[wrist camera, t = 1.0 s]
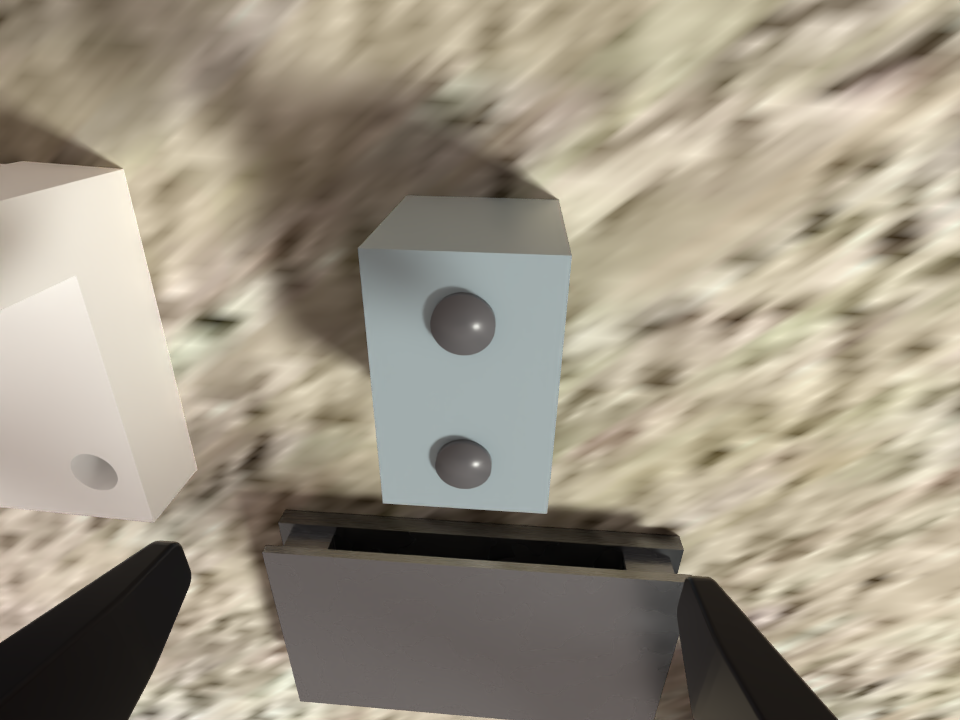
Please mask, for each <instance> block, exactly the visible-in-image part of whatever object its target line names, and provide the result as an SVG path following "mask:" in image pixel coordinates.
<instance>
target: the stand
mask: <svg viewBox="0 0 960 720" xmlns="http://www.w3.org/2000/svg"><path fill="white" fill-rule="evenodd" d="M278 524H279V528H280V533H281V537H282V542H283V546H272V545H266V546H265V548H264V550H263V552H262V554H263V558H264V562H265V566H266V570H267V573H268V577H269V581H270V585H271V589H272V593H273V597H274V601H275V605H276V609H277V612H278V616H279V620H280V624H281V628H282V632H283V636H284V640H285V644H286V648H287V652H288V655H289V659H290V663H291V667H292V671H293V675H294V679H295V683H296V687H297V691H298V694H299V698H300V701H304V702H315V703H327V704H338V705H349V706H361V707H372V708H383V709H395V710H406V711H417V712H429V713H440V714H451V715H463V716H474V717H485V718H497V719H508V720H654V717H655V714H656V711H657V707H658V704H659V701H660V697H661V694H662V690H663V687H664V684H665V680H666V677H667V674H668V670H669V667H670V663H671V660H672V657H673V653H674V650H675V647H676V643H677V640H678V636H679V628H678V622H677V607H678V603H679V599H680V595H681V592H682V588H683V585H684V581H685V579H686V578H687V577H688V576H692V575H685V574H677V573H678V569H679V566H680V562H681V558H682V555H683V551H684V550H683V546H682V543H681V540H680V537H679V536H670V535H655V534H640V533H625V532H610V531H595V530H580V529H564V528H549V527H534V526H519V525H504V524H489V523H474V522H458V521H443V520H428V519H413V518H398V517H383V516H368V515H352V514H337V513H322V512H307V511H292V510H285V511H284V513H283V515H282V517H281V519H280V520H279V522H278Z"/></svg>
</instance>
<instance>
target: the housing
mask: <svg viewBox="0 0 960 720" xmlns="http://www.w3.org/2000/svg"><path fill="white" fill-rule="evenodd" d="M358 255H359V266H360V276H361V286H362V296H363V306H364V316H365V326H366V336H367V347H368V357H369V367H370V377H371V387H372V397H373V407H374V417H375V427H376V438H377V448H378V458H379V468H380V478H381V488H382V498H383V503H386V504H401V505H417V506H432V507H448V508H464V509H479V510H495V511H511V512H526V513H542V514H547V509H548V499H549V488H550V478H551V467H552V457H553V446H554V436H555V426H556V415H557V405H558V394H559V384H560V373H561V363H562V352H563V342H564V332H565V321H566V311H567V300H568V290H569V279H570V269H571V259H572V254H571V250H570V246H569V242H568V237H567V233H566V229H565V224H564V220H563V216H562V212H561V207H560V203H559V200H554V199H519V198H484V197H449V196H414V195H406V197H405V198H404V199H403V200H402V201H401V202H400V203H399V204H398V205H397V206H396V207H395V208H394V210H393V211H392V212H391V213H390V214H389V215H388V216H387V217H386V218H385V219H384V220H383V221H382V223H381V224H380V225H379V226H378V227H377V228H376V229H375V230H374V231H373V232H372V233H371V234H370V236H369V237H368V238H367V239H366V240H365V241H364V242H363V243H362V244H361V245H360V246H359V247H358Z"/></svg>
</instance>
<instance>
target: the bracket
mask: <svg viewBox="0 0 960 720" xmlns="http://www.w3.org/2000/svg"><path fill="white" fill-rule="evenodd" d="M196 471H197V465H196V460H195V456H194V452H193V448H192V444H191V440H190V436H189V432H188V428H187V424H186V420H185V416H184V412H183V408H182V404H181V400H180V396H179V392H178V388H177V384H176V379H175V375H174V371H173V367H172V363H171V359H170V355H169V351H168V347H167V343H166V339H165V335H164V331H163V327H162V323H161V319H160V315H159V311H158V307H157V302H156V298H155V294H154V290H153V286H152V282H151V278H150V274H149V270H148V266H147V262H146V258H145V254H144V250H143V246H142V242H141V238H140V234H139V230H138V225H137V221H136V217H135V213H134V209H133V205H132V201H131V197H130V193H129V189H128V185H127V181H126V177H125V173H124V169H118V168H105V167H92V166H79V165H66V164H54V163H41V162H28V161H20V162H15V163H9V164H0V507H5V508H15V509H25V510H35V511H45V512H54V513H64V514H74V515H84V516H94V517H103V518H113V519H123V520H133V521H143V522H153V523H154V522H155V521H156V520H157V519H158V517H159V516H160V515H161V514H162V512H163V511H164V510H165V509H166V507H167V506H168V505H169V504H170V503H171V501H172V500H173V499H174V498H175V496H176V495H177V494H178V493H179V491H180V490H181V489H182V488H183V487H184V485H185V484H186V483H187V482H188V480H189V479H190V478H191V477H192V475H193V474H194V473H195V472H196Z"/></svg>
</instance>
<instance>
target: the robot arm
mask: <svg viewBox="0 0 960 720" xmlns="http://www.w3.org/2000/svg"><path fill="white" fill-rule="evenodd" d="M190 582H191V570H190V568H189V565H188V562H187V559H186V557H185V554H184V551H183V548H182V546H181V545H180V544H179V543H178V542H173V541H155V542H153V543H151V544H149V545H148V546H146V547H145V548H143V549H141V550H140V551H138V552H137V553H135V554H134V555H132V556H131V557H129V558H128V559H126V560H125V561H123V562H122V563H120V564H119V565H117V566H116V567H114V568H113V569H111V570H110V571H108V572H107V573H105V574H104V575H102V576H101V577H99V578H98V579H96V580H95V581H93V582H92V583H90V584H89V585H87V586H85V587H84V588H82V589H81V590H79V591H78V592H76V593H75V594H73V595H72V596H70V597H69V598H67V599H66V600H64V601H63V602H61V603H60V604H58V605H57V606H55V607H54V608H52V609H51V610H49V611H48V612H46V613H45V614H43V615H42V616H40V617H39V618H37V619H36V620H34V621H32V622H31V623H29V624H28V625H26V626H25V627H23V628H22V629H20V630H19V631H17V632H16V633H14V634H13V635H11V636H10V637H8V638H7V639H5V640H4V641H2V642H1V643H0V720H128V719H129V717H130V715H131V713H132V711H133V710H134V708H135V706H136V704H137V702H138V700H139V698H140V696H141V694H142V693H143V691H144V689H145V687H146V685H147V683H148V681H149V679H150V677H151V675H152V673H153V671H154V669H155V667H156V665H157V662H158V660H159V658H160V656H161V653H162V651H163V648H164V646H165V644H166V641H167V639H168V636H169V634H170V632H171V629H172V627H173V624H174V622H175V620H176V617H177V615H178V612H179V610H180V608H181V605H182V603H183V600H184V598H185V596H186V593H187V591H188V588H189V586H190ZM677 622H678V628H679V635H680V641H681V647H682V654H683V660H684V666H685V673H686V679H687V685H688V692H689V698H690V704H691V710H692V715H693V719H694V720H838V719H837V718H836V717H835V715H834V714H833V713H832V712H831V711H830V710H829V709H828V708H827V706H826V705H825V704H824V703H823V702H822V701H821V700H820V699H819V697H818V696H817V695H816V694H815V693H814V692H813V691H812V690H811V688H810V687H809V686H808V685H807V684H806V683H805V682H804V680H803V679H802V678H801V677H800V676H799V675H798V674H797V673H796V671H795V670H794V669H793V668H792V667H791V666H790V665H789V664H788V662H787V661H786V660H785V659H784V658H783V657H782V656H781V655H780V653H779V652H778V651H777V650H776V649H775V648H774V647H773V646H772V644H771V643H770V642H769V641H768V640H767V639H766V638H765V637H764V635H763V634H762V633H761V632H760V631H759V630H758V629H757V627H756V626H755V625H754V624H753V623H752V622H751V621H750V620H749V618H748V617H747V616H746V615H745V614H744V613H743V612H742V611H741V609H740V608H739V607H738V606H737V605H736V604H735V603H734V602H733V600H732V599H731V598H730V597H729V596H728V595H727V594H726V593H725V591H724V590H723V589H722V588H721V587H720V586H719V585H718V584H717V582H716V581H715V580H713V579H712V578H710V577H702V576H688V577H687V578H686V579H685V581H684V585H683V588H682V592H681V595H680V599H679V603H678V607H677Z"/></svg>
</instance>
